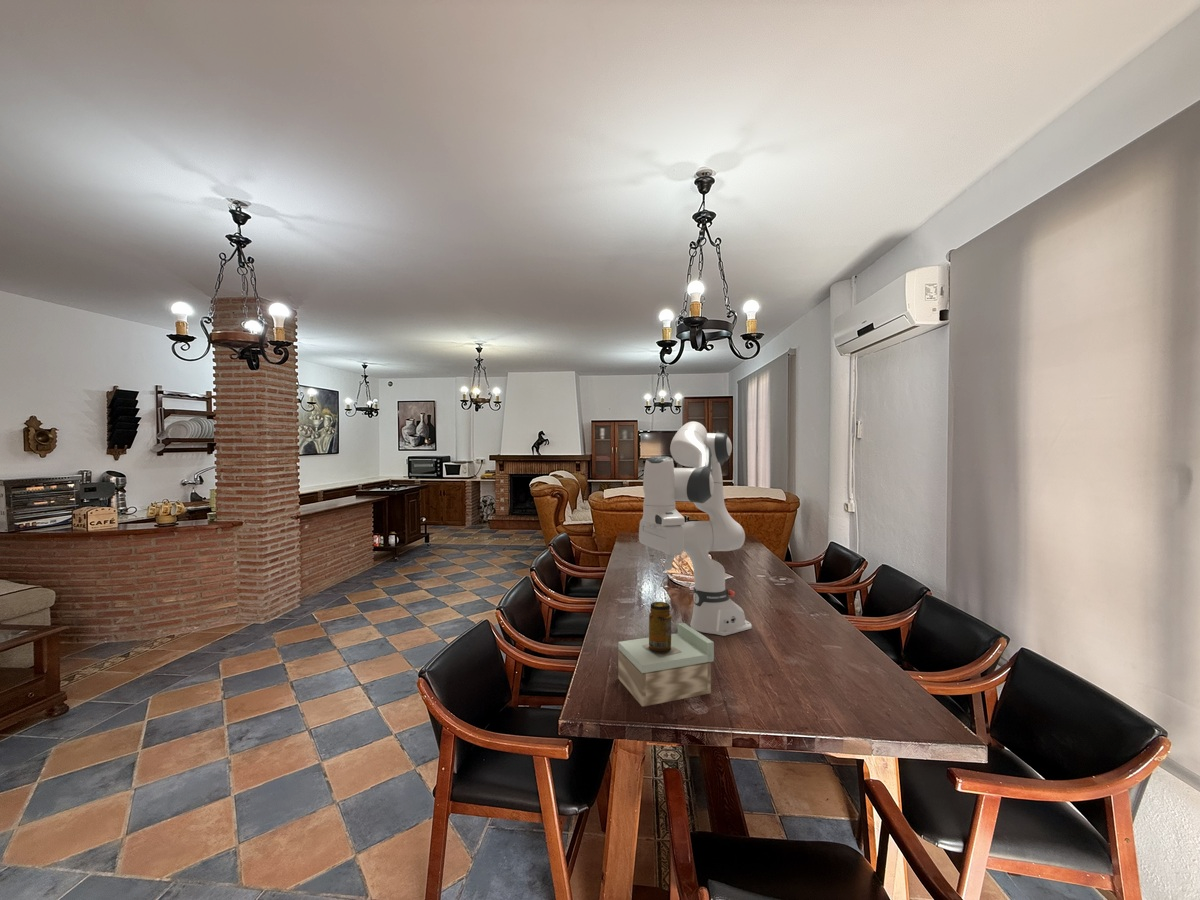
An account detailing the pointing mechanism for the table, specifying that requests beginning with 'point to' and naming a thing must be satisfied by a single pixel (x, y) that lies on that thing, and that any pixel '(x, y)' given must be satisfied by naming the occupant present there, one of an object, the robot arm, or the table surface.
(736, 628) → the robot arm
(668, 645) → the condiment
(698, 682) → the box
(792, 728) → the table surface
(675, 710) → the table surface
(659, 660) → the lid
